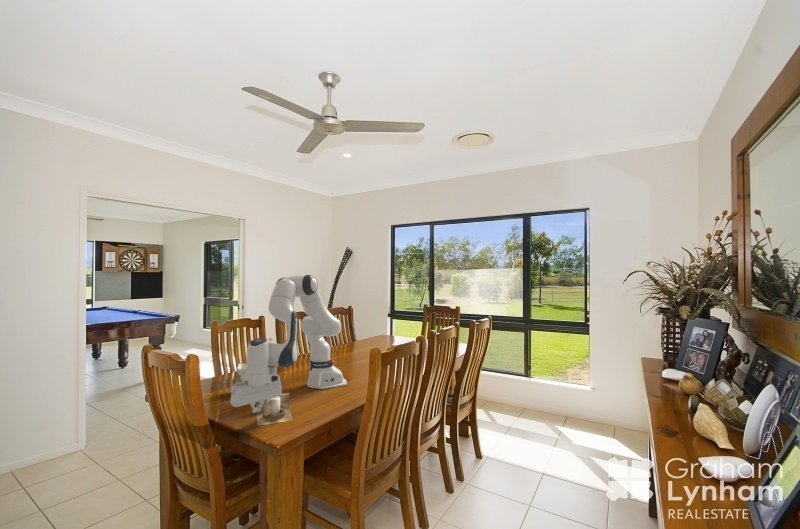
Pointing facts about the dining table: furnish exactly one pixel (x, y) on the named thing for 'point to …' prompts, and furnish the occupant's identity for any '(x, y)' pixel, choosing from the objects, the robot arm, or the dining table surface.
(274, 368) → the french press
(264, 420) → the stand
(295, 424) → the dining table surface
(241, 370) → the pitcher
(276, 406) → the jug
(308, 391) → the dining table surface
